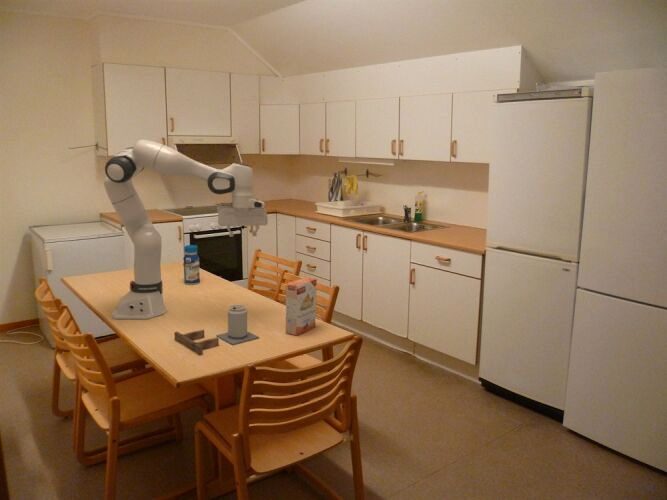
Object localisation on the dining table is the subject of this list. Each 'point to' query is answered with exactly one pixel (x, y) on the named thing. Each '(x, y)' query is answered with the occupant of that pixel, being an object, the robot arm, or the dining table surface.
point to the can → (237, 321)
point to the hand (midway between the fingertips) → (243, 236)
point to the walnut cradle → (196, 346)
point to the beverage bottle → (191, 265)
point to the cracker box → (300, 305)
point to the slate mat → (237, 341)
